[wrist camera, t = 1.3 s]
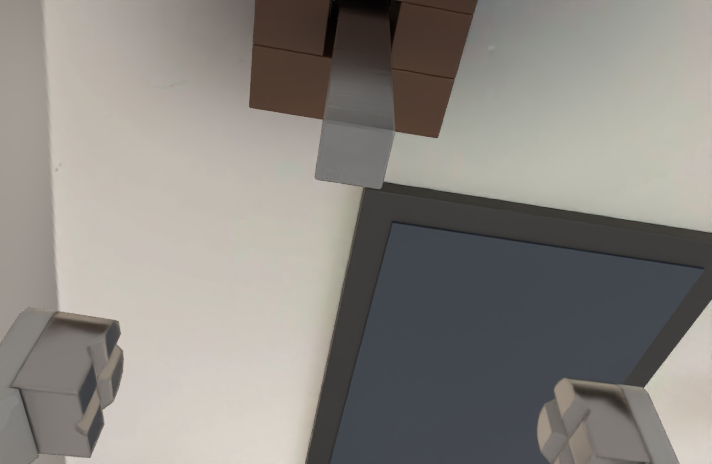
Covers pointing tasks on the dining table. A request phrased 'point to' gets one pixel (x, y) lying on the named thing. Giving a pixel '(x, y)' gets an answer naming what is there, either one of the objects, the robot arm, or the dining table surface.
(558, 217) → the drawing tablet
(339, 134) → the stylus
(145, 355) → the dining table surface
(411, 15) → the brown block with hole
